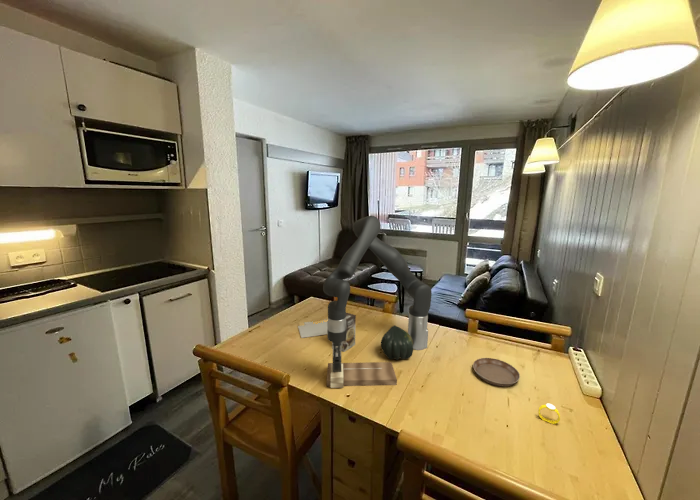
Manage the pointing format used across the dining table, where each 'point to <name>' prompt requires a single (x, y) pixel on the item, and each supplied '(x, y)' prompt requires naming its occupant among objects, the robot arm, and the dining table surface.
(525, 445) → the dining table surface
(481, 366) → the plant saucer
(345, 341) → the coffee box
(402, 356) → the squash
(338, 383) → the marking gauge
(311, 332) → the paper stack
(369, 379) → the walnut board
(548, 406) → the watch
